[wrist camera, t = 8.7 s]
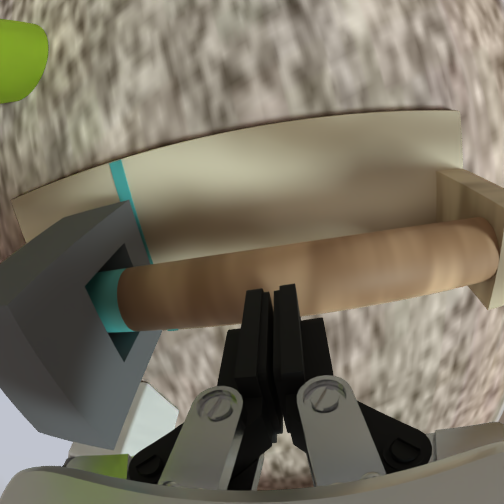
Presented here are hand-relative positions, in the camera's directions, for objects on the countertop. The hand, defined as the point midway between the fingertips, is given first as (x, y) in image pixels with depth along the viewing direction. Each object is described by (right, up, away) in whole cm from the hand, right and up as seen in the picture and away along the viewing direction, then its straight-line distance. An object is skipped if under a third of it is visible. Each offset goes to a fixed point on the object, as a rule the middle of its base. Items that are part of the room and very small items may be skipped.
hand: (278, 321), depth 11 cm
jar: (-12, -13, +17) cm, 24 cm away
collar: (-9, +2, +7) cm, 12 cm away
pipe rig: (-3, +3, +8) cm, 9 cm away
